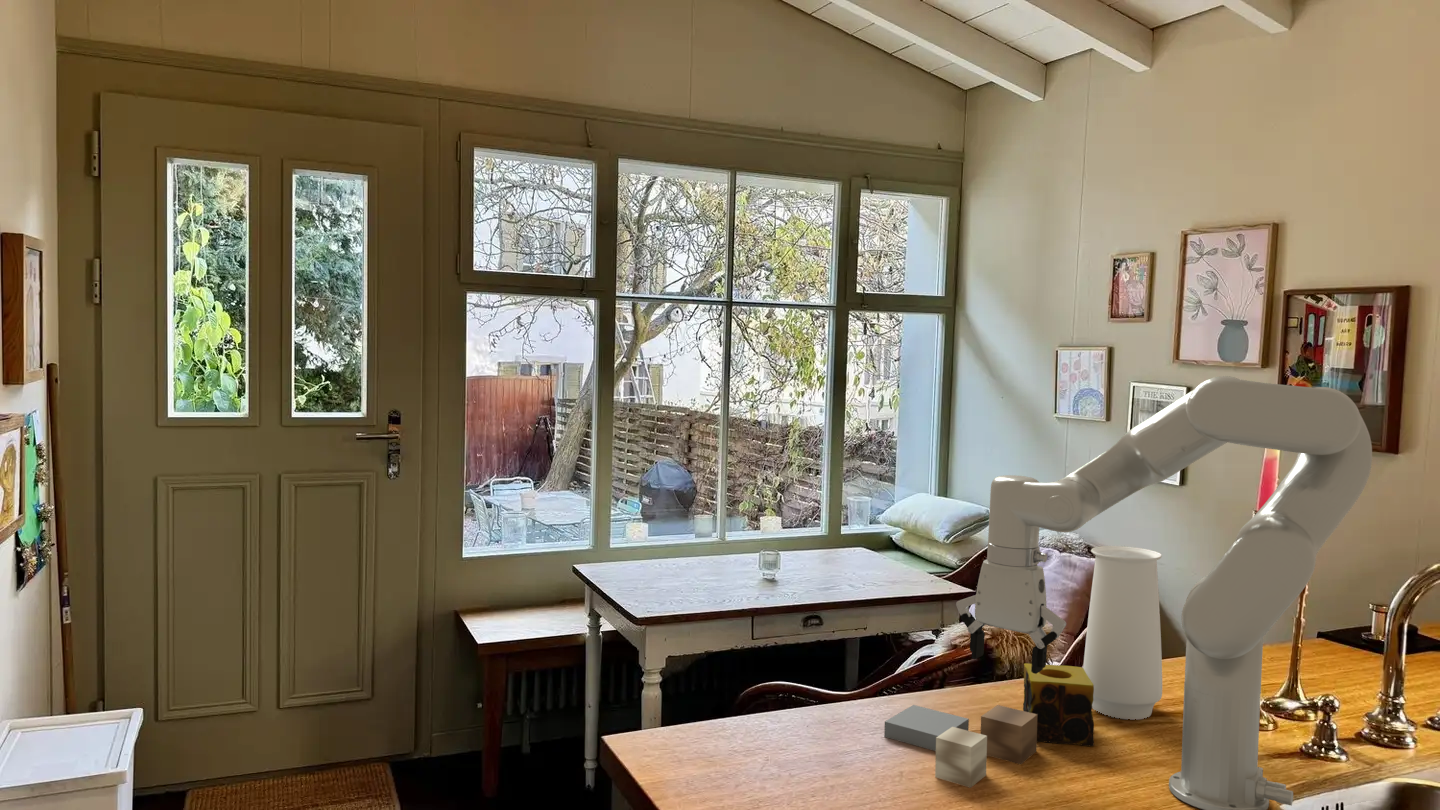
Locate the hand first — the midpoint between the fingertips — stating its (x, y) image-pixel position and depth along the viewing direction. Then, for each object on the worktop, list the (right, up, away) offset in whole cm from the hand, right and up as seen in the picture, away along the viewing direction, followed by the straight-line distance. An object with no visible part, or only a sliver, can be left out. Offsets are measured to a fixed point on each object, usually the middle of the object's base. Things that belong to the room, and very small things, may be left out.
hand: (1006, 664), depth 153 cm
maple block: (-9, -14, -9) cm, 19 cm away
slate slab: (-11, -13, +7) cm, 19 cm away
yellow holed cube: (+11, -14, +9) cm, 20 cm away
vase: (+26, -13, +20) cm, 35 cm away
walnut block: (0, -14, 0) cm, 14 cm away
